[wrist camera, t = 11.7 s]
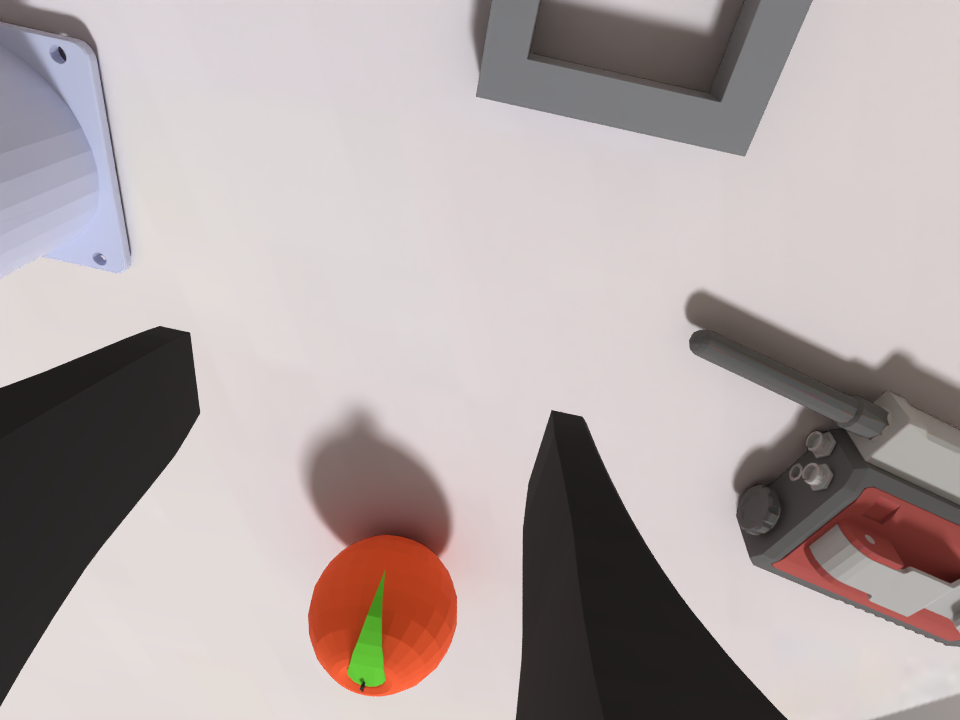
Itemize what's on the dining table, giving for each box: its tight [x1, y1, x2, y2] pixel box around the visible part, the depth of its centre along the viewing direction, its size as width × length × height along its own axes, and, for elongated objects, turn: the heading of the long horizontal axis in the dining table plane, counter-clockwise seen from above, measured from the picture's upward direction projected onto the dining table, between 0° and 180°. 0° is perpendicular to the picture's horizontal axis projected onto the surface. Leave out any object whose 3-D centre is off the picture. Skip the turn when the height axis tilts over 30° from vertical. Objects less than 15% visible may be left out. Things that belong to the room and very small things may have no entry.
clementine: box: [308, 535, 457, 696], centre depth 27 cm, size 8×7×7 cm
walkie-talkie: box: [689, 330, 960, 647], centre depth 23 cm, size 9×4×20 cm
